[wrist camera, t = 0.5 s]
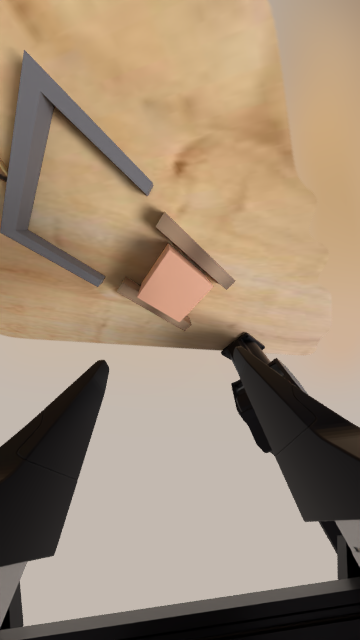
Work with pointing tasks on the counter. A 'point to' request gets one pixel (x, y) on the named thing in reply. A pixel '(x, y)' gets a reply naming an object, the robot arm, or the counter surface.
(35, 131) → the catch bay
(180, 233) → the wooden blocks
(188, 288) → the terracotta block
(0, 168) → the shard
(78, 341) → the counter surface
